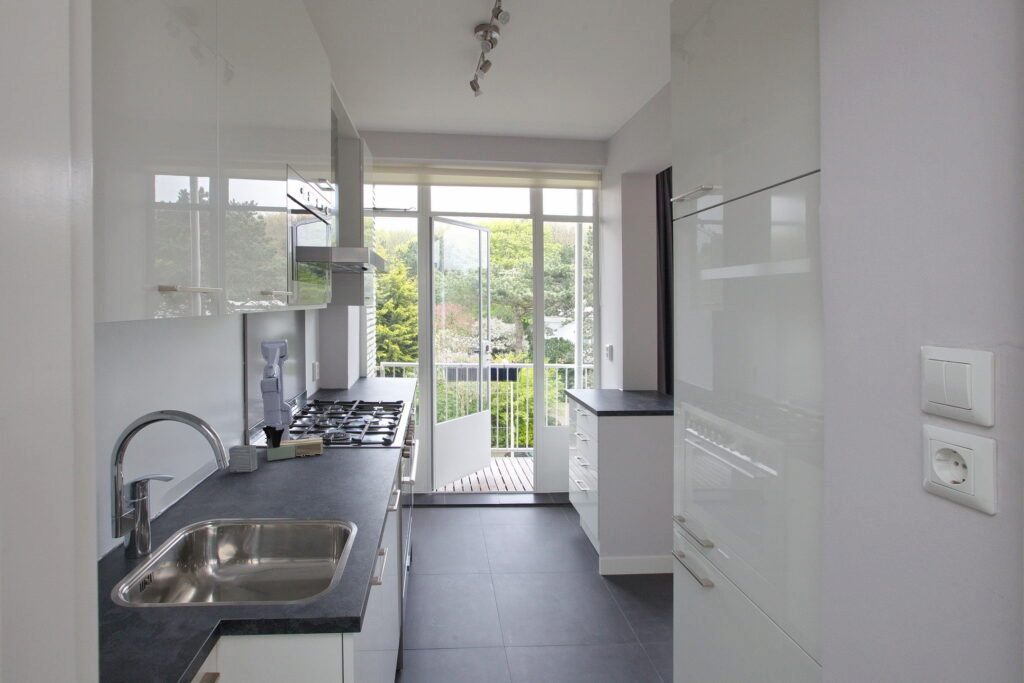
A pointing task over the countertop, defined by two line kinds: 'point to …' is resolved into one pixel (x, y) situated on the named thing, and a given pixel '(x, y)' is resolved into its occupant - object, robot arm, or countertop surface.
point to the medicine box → (243, 458)
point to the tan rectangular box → (305, 446)
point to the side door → (280, 451)
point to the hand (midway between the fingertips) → (274, 446)
